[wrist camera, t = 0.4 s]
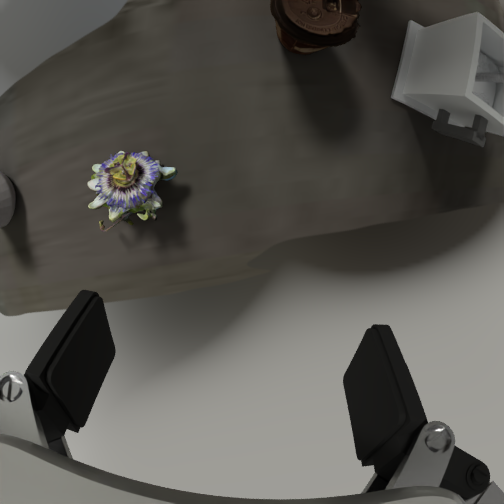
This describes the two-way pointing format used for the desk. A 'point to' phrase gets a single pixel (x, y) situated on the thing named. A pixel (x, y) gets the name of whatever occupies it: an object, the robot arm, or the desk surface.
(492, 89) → the plunger
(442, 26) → the press housing
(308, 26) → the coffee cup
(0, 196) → the coffee pot
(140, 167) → the passion flower
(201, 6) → the desk surface
